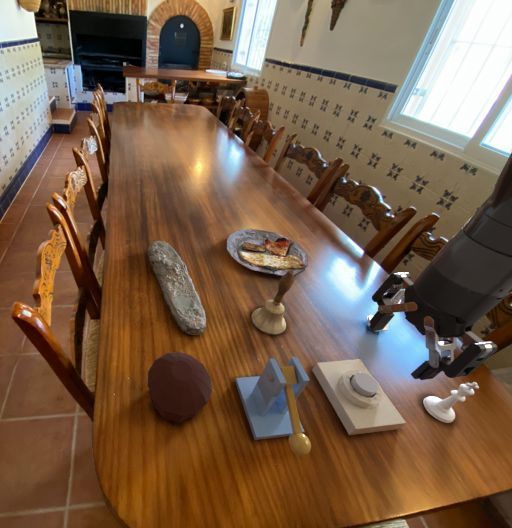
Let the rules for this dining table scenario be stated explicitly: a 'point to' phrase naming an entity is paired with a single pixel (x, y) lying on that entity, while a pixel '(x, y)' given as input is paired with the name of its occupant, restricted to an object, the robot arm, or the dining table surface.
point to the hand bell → (274, 309)
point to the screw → (395, 300)
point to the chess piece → (448, 402)
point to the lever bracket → (270, 399)
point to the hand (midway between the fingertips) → (394, 351)
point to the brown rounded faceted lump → (178, 386)
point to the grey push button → (364, 384)
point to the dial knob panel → (356, 399)
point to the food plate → (266, 252)
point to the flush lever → (294, 415)
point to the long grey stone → (177, 288)
